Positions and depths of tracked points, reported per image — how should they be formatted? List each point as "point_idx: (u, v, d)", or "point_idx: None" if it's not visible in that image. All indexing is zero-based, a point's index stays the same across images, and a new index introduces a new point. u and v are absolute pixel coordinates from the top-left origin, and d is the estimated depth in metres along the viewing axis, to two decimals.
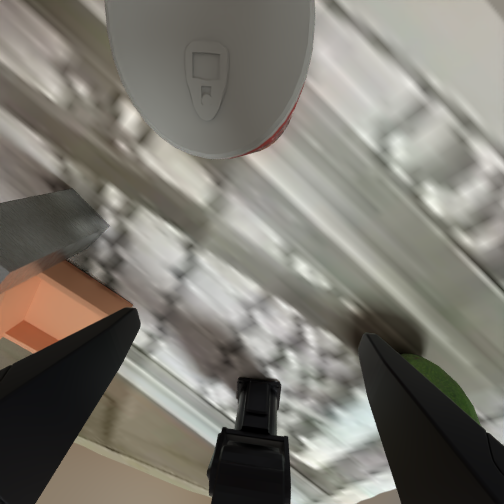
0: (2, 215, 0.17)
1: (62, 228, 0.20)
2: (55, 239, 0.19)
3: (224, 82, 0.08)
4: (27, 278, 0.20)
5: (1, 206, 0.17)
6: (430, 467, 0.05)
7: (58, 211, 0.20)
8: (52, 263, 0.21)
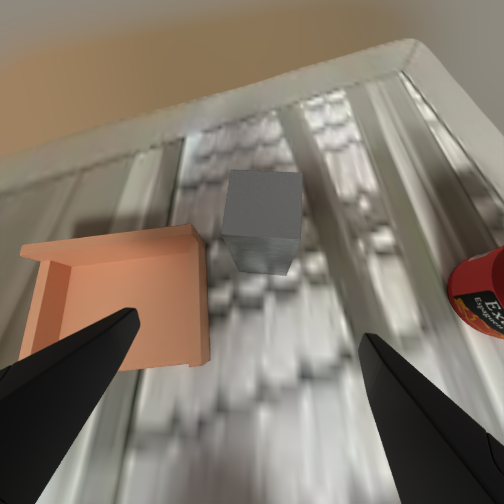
0: None
1: None
2: None
3: None
4: (234, 250, 0.17)
5: None
6: (430, 467, 0.05)
7: None
8: (247, 259, 0.19)
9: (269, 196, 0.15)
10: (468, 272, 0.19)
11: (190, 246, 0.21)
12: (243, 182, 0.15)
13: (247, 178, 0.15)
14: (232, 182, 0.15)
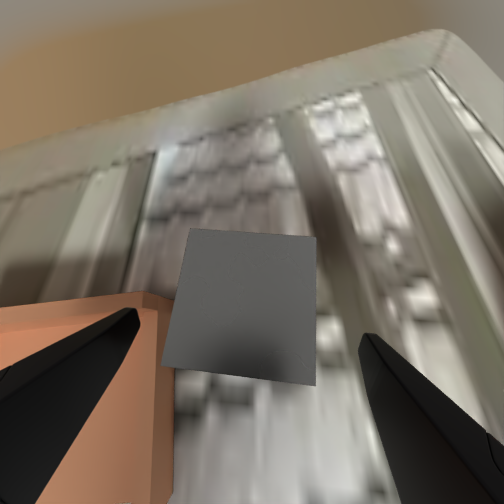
0: None
1: None
2: None
3: None
4: None
5: None
6: (430, 467, 0.05)
7: None
8: None
9: (255, 285, 0.08)
10: None
11: (146, 317, 0.15)
12: (209, 253, 0.08)
13: (217, 246, 0.08)
14: (190, 253, 0.08)
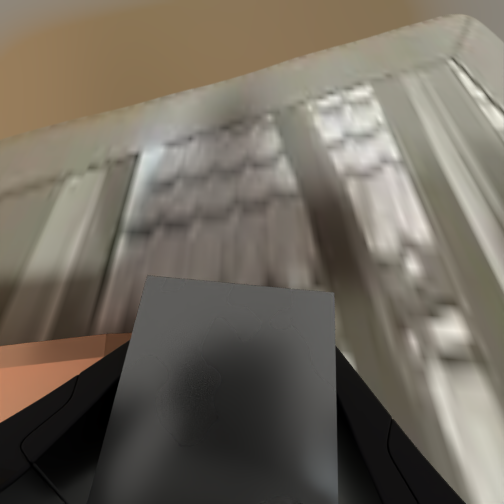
0: None
1: None
2: None
3: None
4: None
5: None
6: (341, 453, 0.05)
7: None
8: None
9: (240, 373, 0.05)
10: None
11: None
12: (173, 317, 0.06)
13: (185, 304, 0.06)
14: (144, 315, 0.06)
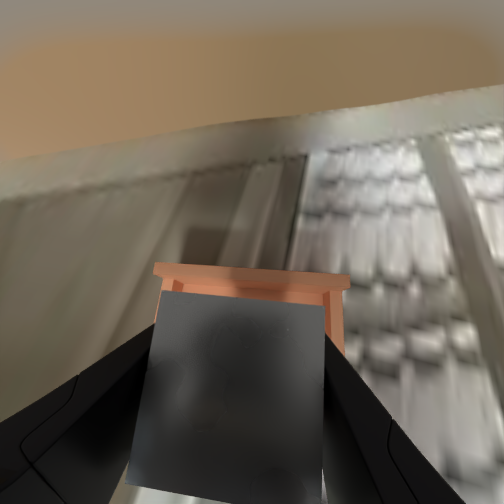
0: None
1: None
2: None
3: None
4: None
5: None
6: (341, 453, 0.05)
7: None
8: None
9: (244, 374, 0.06)
10: None
11: (332, 295, 0.19)
12: (186, 327, 0.06)
13: (196, 316, 0.07)
14: (161, 325, 0.07)
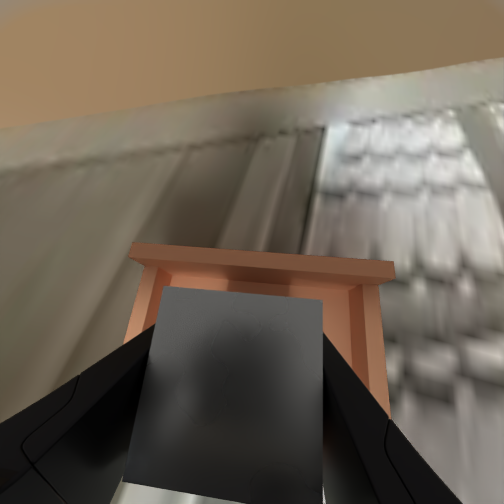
0: None
1: None
2: None
3: None
4: None
5: None
6: (338, 452, 0.05)
7: None
8: None
9: (244, 367, 0.06)
10: None
11: (366, 290, 0.14)
12: (187, 321, 0.07)
13: (197, 310, 0.07)
14: (163, 320, 0.07)
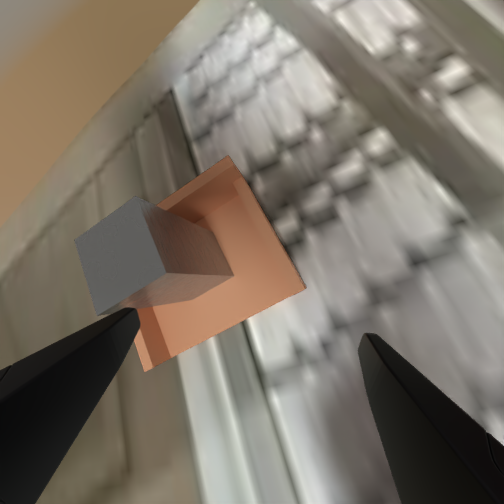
0: (172, 222, 0.15)
1: (205, 257, 0.17)
2: (200, 263, 0.16)
3: None
4: (144, 305, 0.15)
5: (173, 216, 0.15)
6: (430, 467, 0.05)
7: (204, 242, 0.18)
8: (171, 298, 0.17)
9: (118, 245, 0.12)
10: None
11: (236, 184, 0.19)
12: (90, 246, 0.13)
13: (91, 239, 0.13)
14: (81, 253, 0.13)
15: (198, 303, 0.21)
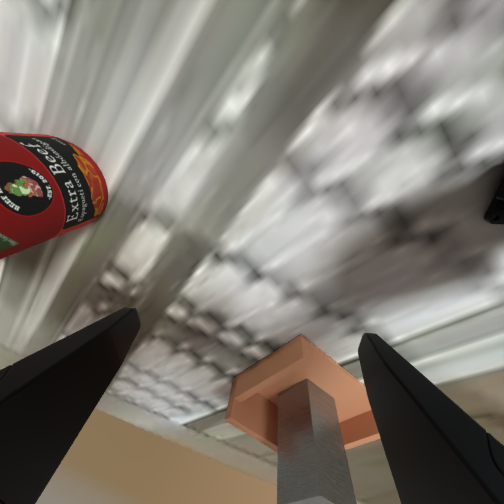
0: (284, 462, 0.22)
1: (300, 423, 0.23)
2: (306, 436, 0.22)
3: None
4: (346, 469, 0.21)
5: (279, 458, 0.22)
6: (430, 467, 0.05)
7: (289, 416, 0.25)
8: (336, 440, 0.23)
9: None
10: None
11: (240, 400, 0.26)
12: None
13: None
14: None
15: (335, 395, 0.27)
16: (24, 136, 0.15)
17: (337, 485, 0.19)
